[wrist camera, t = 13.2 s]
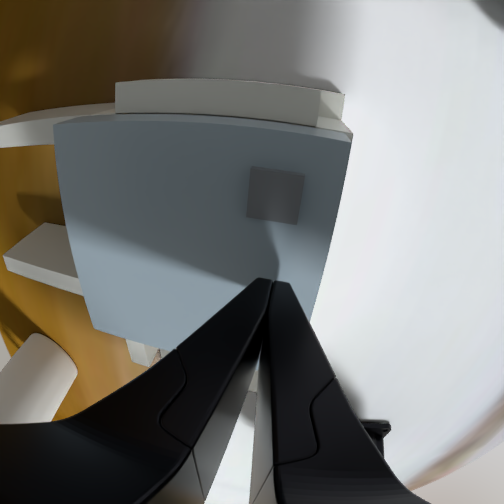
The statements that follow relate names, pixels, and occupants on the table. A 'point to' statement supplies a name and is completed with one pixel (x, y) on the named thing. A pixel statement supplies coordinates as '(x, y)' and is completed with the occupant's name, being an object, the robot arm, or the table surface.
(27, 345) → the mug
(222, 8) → the table surface
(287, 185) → the cover
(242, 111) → the white open box
